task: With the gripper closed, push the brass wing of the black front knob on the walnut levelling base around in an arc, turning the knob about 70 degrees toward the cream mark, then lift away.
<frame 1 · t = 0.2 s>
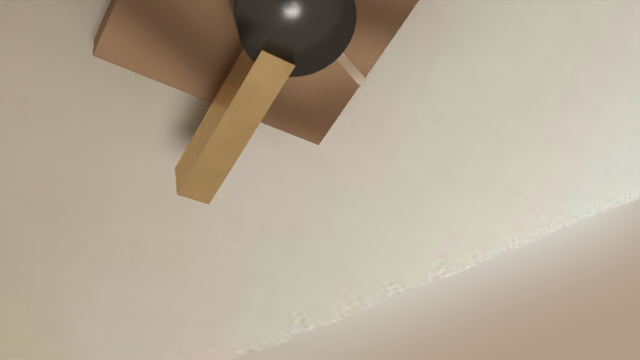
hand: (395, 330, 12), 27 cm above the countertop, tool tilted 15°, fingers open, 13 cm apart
footscrew knob: (249, 77, 34), point 4 cm above the countertop, hinge at 0.0°
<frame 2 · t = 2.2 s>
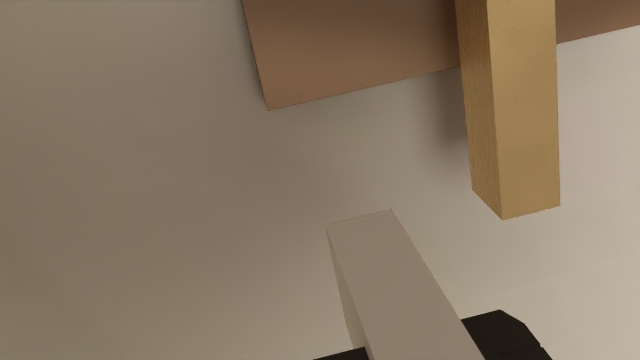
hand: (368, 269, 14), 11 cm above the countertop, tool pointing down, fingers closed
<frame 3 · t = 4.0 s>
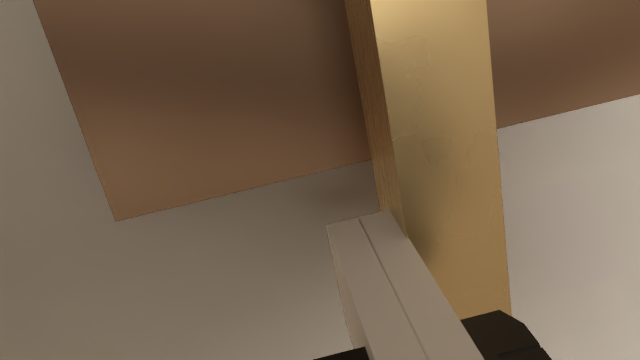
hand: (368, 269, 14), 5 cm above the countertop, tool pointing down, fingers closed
footscrew knob: (402, 38, 13), point 4 cm above the countertop, hinge at 0.0°, touching gripper
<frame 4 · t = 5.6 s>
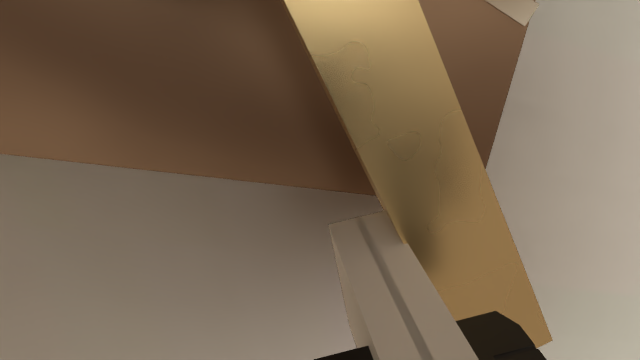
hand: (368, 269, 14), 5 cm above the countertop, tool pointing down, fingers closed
footscrew knob: (354, 37, 12), point 4 cm above the countertop, hinge at 36.2°, touching gripper
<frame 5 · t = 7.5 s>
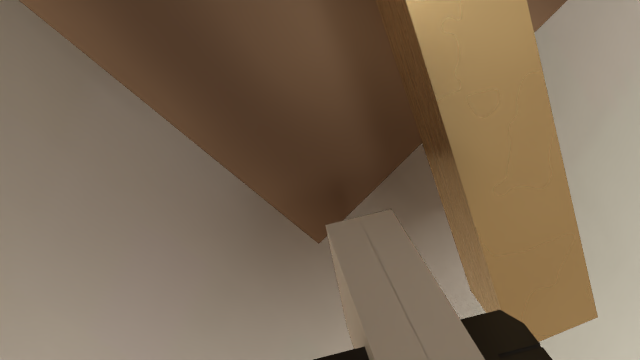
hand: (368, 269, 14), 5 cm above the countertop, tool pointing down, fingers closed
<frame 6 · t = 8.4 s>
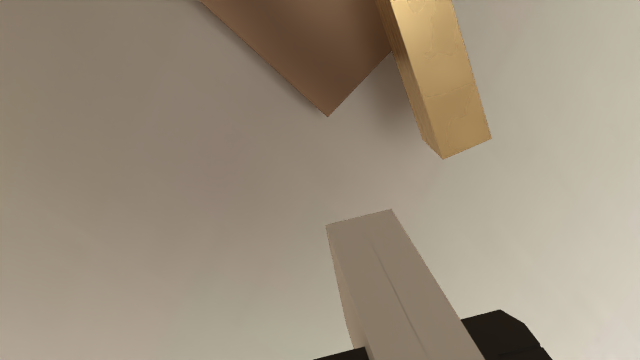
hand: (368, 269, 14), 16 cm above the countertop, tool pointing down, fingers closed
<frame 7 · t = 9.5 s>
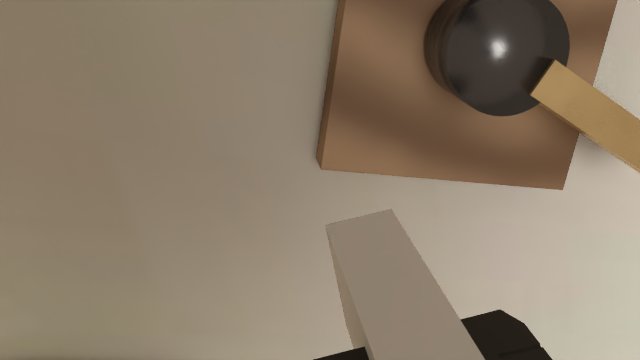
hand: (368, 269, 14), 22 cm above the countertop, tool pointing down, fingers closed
levelling base: (471, 1, 35), on the countertop
footscrew knob: (558, 93, 32), point 4 cm above the countertop, hinge at 65.7°
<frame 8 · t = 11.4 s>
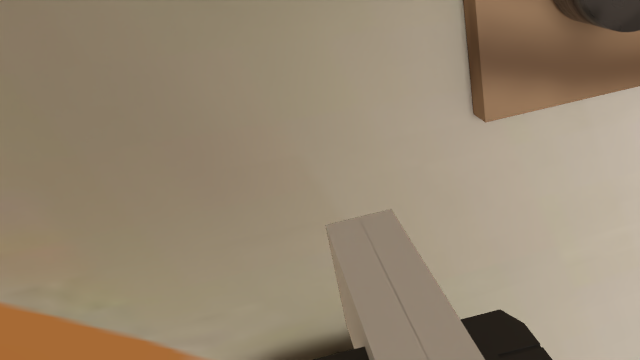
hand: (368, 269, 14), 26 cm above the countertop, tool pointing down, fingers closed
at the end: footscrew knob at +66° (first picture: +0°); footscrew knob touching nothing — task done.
